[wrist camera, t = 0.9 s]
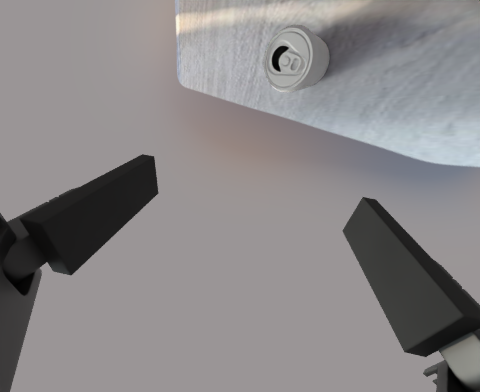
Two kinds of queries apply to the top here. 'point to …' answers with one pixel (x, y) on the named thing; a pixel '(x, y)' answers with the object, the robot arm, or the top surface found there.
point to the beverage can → (295, 59)
